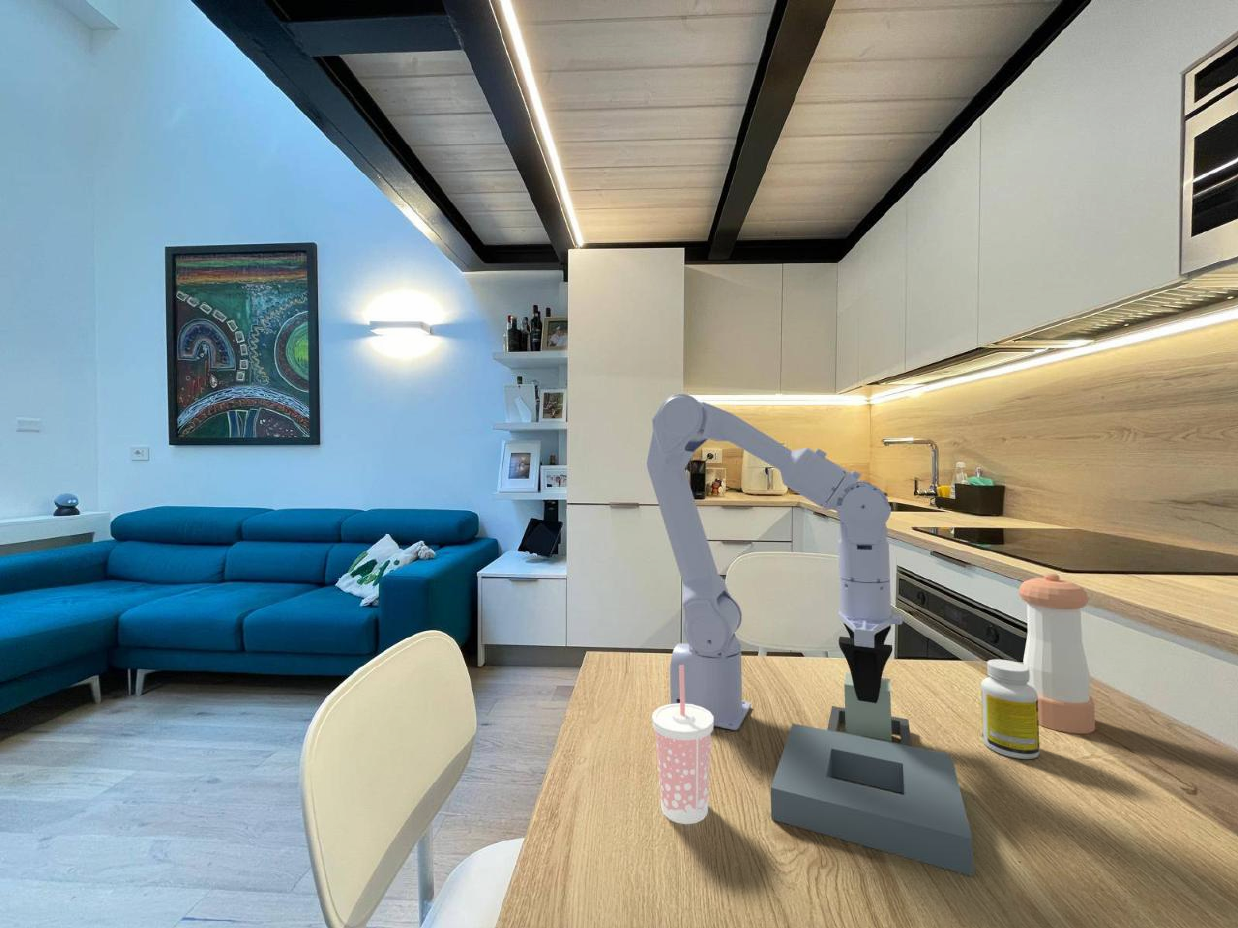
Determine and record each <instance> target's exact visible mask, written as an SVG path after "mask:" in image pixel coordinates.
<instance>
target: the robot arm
mask: <svg viewBox="0 0 1238 928" xmlns="http://www.w3.org/2000/svg"><path fill="white" fill-rule="evenodd" d="M651 422H652V433H651V440H650V445H649V450H648V454H647V455H648V456H647V460H646V465H647V466H646V468H647V471H648V475H649V478H650V480H651V484H652V487H653V491H654V495H655V497H656V501H657V504H658V507H659V510H660V514H661V517H662V519H663V523H664V526H665V529H666V534H667V536H668V539H669V542H670V545H671V549H672V552H673V556H674V558H675V562H676V565H677V567H678V573H679V575H680V578H681V581H682V584H683V587H682V601H681V604H682V607H683V610H684V622H683V633H684V638H685V639H686V641H687V643H681V642H680V643H677V644H676V645H675V647H674V649H673V651H672V654H671V658H670V668H669V675H670V676H669V678H670V679H669V681H670V683H669V685H670V687H669V688H670V704H676V703H680V677H679V665H684V689H685V704H693V705H697V706H700V707H703V708H705V709H706V710H708V711H710V712H711V714H712V715H713V716H714V722H713V727H719V728H722V729H727V730H732V731H738V730H739V728H740V726H741V725H742V723H743V721H744V719H745V717H746V716H747V714H748V713H749V711H750V709H751V703H750V702H748V701H744V700H743V685H742V682H743V681H742V679H743V678H742V675H743V673H742V645H741V643H740V641H739V640H738V638H737V635H736V632H737V630H738V629H739V628H740V626H741V624H742V620H743V615H742V610H741V607H740V605H739V603H738V602H737V601H736V600H735V599H734V598H733V596H731V593H729V590H728V588H727V584H726V582H725V581H724V580H723V578H722V577H721V576H720V574H719V572H718V569H717V567H716V563H715V559H714V557H713V554H712V551H711V547H710V544H709V541H708V538H707V535H706V532H705V528H704V525H703V522H702V518H701V516H700V512H699V510H698V507H697V504H696V499H695V497H694V494H693V490H692V488H691V485H690V483H689V482H690V481H689V478H688V476H687V473H686V467H687V466H688V465H689V463H690V461H691V459H692V457H693V455H694V454H695V452H696V451H697V450H698V449H699V448H700V447H702V445H704V444H705V443H706V442H708V440H710V441H714V442H729V443H731V444H734V445H735V446H736V447H738V448H740V449H742V450H744V451H745V452H747V453H749V454H751V455H752V456H754V457H756V458H758V459H759V460H761V461H763V462H765V463H767V465H770V466H772V467H773V468H776V469H777V470H779V472H780V477H781V481H782V484H783V485H784V486H785V487H787V488H789V489H791V490H792V491H793V492H795V493H797V494H799V495H800V496H802V497H803V498H805V499H807V500H808V501H810V502H812V503H813V504H815V505H817V507H818V506H819V507H820V508H822V509H823V510H825V511H830V510H832V511H836V514H837V516H838V518H839V520H840V523H839V527H840V538H839V540H838V546H837V547H838V569H839V570H838V571H839V572H838V573H839V575H838V576H839V600H840V601H839V603H840V604H839V605H840V607H839V608H840V609H839V611H838V619H839V620H840V621H841V622H842V623H843V625H844V627H845V629H846V632H847V633H848V635H849V637H847V636H839V637H838V645H839V648H840V650H841V652H842V654H843V656H844V658H845V660H846V661H847V665H848V668H849V670H850V673H851V676H852V680H853V685H854V689H855V693H856V696H857V699H858V700H859V701H865V702H871V703H877V701H878V698H879V693H880V686H881V679H882V678H883V673H884V669H885V666H886V664H887V662H888V660H889V658H890V656H891V654H892V652H893V645H892V644H886V643H885V642H886V640H887V637H888V635H889V633H890V632H891V629H892V625H902V624H903V616H902V615H900V614H892V600H891V598H892V597H891V596H892V595H891V572H890V570H891V567H890V545H889V542H888V540H887V538H888V535H889V534H888V532H889V531H888V527H887V524H886V523H887V522H888V520H889V519H890V516H891V513H892V506H890V503H889V500H888V497H887V496H886V494H885V492H883V491H882V489H880V488H879V487H878V486H877V485H873V484H872V483H871V482H869V481H866V480H865V481H864V480H859V479H860V478H861V476H862V474H861V473H860V472H858V471H857V470H853V471H852V472H851V471H849V470H847V469H845V468H844V467H843V466H840V465H839V464H837V463H835V462H833V461H831V460H830V459H828V458H827V452H825V451H824V450H822V449H820V448H817V449H816V450H813V449H811V448H809V447H803V448H800V449H796V450H791V449H790V448H788V447H787V446H785V445H784V444H782V443H780V442H779V441H777V440H775V439H774V438H772V437H770V436H769V435H767V434H766V433H764V432H762V431H761V430H759V429H758V428H757V427H755V426H753V425H751V424H750V423H748V422H747V421H744V420H743V419H741V418H740V417H739V416H737V415H735V414H733V413H732V412H729V411H727V410H725V409H722V408H720V407H717V406H715V405H712V404H710V403H706V402H704V401H698V400H697V399H696V398H695V397H693V396H692V395H689V394H686V393H678V394H673V395H671V396H669V397H668V398H667V399H665V400H664V401H663V403H662V404H661V405H660V407H659V408H658V409H657V411H656V413H655V414H654V416H653V418H652V420H651Z"/></svg>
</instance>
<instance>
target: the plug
mask: <svg viewBox="0 0 1238 928" xmlns="http://www.w3.org/2000/svg"><path fill="white" fill-rule="evenodd" d="M891 707H892V705H891V680H890V678H884V677H882V679H881V686H880V693H879V698H878V701H877V703H871V702H865V701H859V700H858V699H857V696H856V693H855V689H854V685H853V680H852V676H851V672H850V673H849V672H845V679H844V708H845V723H844V724H845V733H850V734H855V735H860V736H865V737H870V738H875V739H880V740H886V741H891V742H893V740H892V735H893V734H892V733H893V732H892V731H891V716H892V708H891Z"/></svg>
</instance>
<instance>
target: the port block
mask: <svg viewBox="0 0 1238 928" xmlns="http://www.w3.org/2000/svg"><path fill="white" fill-rule="evenodd" d="M839 732H840V731H839ZM839 732H834V731H829V730H827V729H822V728H817V727H814V726H813V727H812V726H808V725H803V724H799V723H792V725H791V727H790V731H789V733H788V737H787V740H786V742H785V744H784V748H783V750H782V752H781V757H780V759H779V761H778V766H777V767H776V770H775V774H774V776H773V778H772V779H773V780H772V783H771V785H770V820H772V821H776V822H779V823H783V824H787V825H789V826H793V827H798V828H800V829H805V830H807V831H812V832H814V833H819V834H822V835H825V836H829V837H833V838H835V839H838V840H842V841H846V842H850V843H853V844H857V845H861V846H863V847H868V848H870V849H875V850H879V851H882V852H885V853H889V854H893V855H896V856H899V857H903V858H906V859H910V860H914V861H917V862H920V863H924V864H928V865H931V866H935V867H938V868H942V869H945V870H949V871H952V872H956V873H960V874H963V875H965V876H966V875H967V876H970V877H973V878H974V875H975V873H974V872H975V870H974V849H973V848H974V846H973V845H974V843H973V836H972V832H971V828H970V823H969V820H968V816H967V813H966V808H965V803H964V800H963V797H962V793H961V787H960V784H959V780H958V777H957V773H956V769H955V763H954V760H953V756H952V754H950V753H945V752H941V751H940V752H939V751H937V750H936V751H935V750H930V749H926V748H921V747H920V748H919V747H915V746H912V747H911V746H906V745H901V744H896V743H897V742H896V743H890V742H885V741H880V740H875V739H870V738H865V737H860V736H855V735H850V734H844V733H839ZM840 779H841V780H840ZM854 782H855V783H854ZM875 787H876V788H875ZM884 789H885V790H884ZM896 792H897V793H896Z"/></svg>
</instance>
